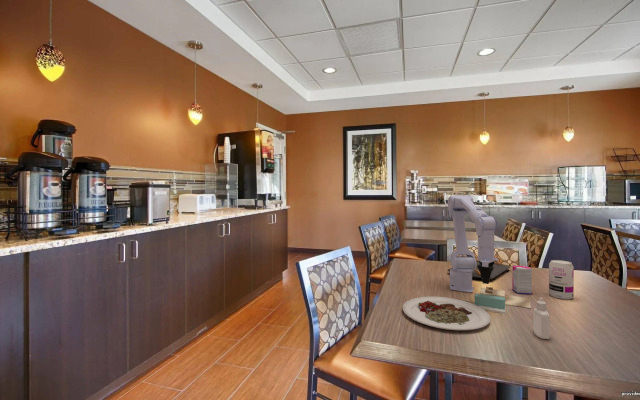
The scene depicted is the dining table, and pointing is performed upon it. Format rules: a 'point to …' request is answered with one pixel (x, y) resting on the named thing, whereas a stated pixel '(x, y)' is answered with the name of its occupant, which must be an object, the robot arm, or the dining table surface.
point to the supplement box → (522, 280)
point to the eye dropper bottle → (541, 320)
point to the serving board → (496, 271)
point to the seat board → (507, 297)
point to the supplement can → (561, 279)
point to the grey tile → (493, 309)
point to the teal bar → (489, 301)
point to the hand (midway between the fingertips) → (486, 280)
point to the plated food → (446, 313)
